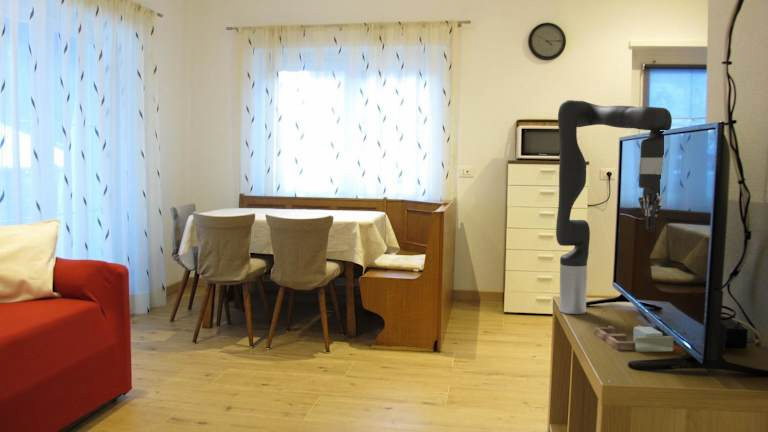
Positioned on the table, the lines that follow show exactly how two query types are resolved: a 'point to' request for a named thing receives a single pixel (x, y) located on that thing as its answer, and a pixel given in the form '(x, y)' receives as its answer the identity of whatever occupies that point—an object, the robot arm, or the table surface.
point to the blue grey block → (645, 332)
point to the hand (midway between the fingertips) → (650, 228)
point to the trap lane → (640, 342)
